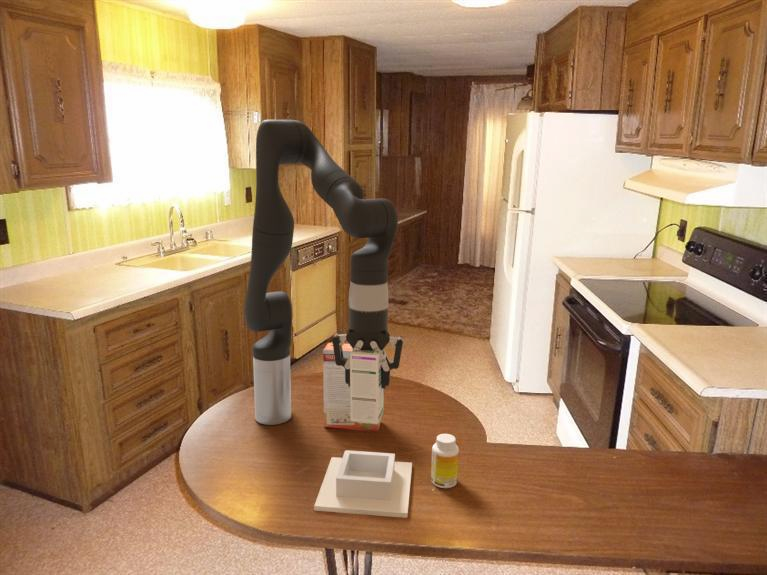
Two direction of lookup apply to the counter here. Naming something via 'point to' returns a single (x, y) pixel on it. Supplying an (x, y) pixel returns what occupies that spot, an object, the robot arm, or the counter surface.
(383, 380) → the robot arm
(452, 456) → the supplement bottle
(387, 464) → the sleeve holder
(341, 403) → the cracker box
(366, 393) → the syrup box
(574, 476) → the counter surface
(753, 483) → the counter surface
